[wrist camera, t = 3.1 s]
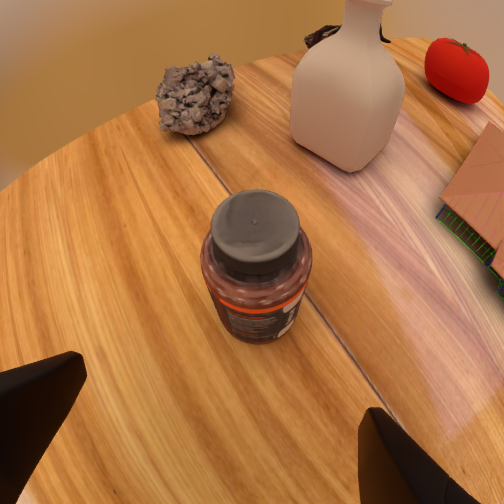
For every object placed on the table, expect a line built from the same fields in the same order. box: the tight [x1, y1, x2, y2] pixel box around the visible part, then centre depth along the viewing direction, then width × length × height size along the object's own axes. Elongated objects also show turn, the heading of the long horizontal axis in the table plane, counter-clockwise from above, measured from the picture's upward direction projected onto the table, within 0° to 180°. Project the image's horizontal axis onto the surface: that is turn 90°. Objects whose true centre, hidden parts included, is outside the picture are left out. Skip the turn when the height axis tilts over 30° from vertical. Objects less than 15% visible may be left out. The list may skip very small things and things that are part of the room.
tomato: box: [424, 38, 489, 104], centre depth 36 cm, size 13×14×12 cm
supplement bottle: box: [200, 189, 312, 344], centre depth 18 cm, size 6×6×11 cm
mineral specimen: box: [156, 54, 235, 135], centre depth 32 cm, size 12×9×10 cm
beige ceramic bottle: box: [289, 0, 405, 173], centre depth 22 cm, size 10×10×23 cm
